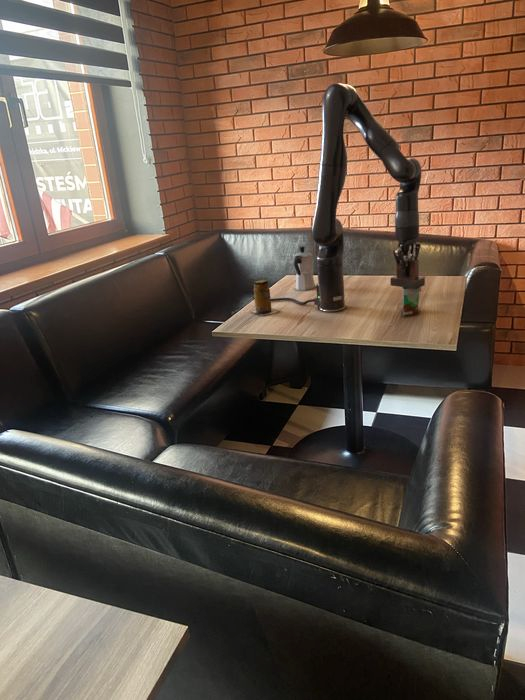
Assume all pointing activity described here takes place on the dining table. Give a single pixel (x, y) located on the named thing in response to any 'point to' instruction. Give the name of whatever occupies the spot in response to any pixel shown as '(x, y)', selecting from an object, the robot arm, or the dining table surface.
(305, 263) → the coffee maker
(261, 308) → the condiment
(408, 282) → the brown stepped block
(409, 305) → the food container
